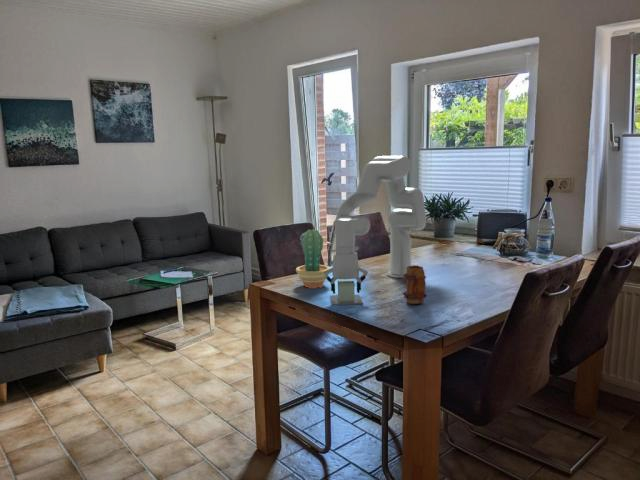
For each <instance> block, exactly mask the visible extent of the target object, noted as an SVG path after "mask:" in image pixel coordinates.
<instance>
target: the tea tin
mask: <svg viewBox="0 0 640 480" xmlns="http://www.w3.org/2000/svg"><path fill="white" fill-rule="evenodd" d="M336 282H337V295H338V299H339V302H342V301H355V295H356V294H355V292H356V291H355V285H356V284H355V280H354V279H337V280H336Z"/></svg>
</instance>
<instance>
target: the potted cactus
mask: <svg viewBox="0 0 640 480" xmlns="http://www.w3.org/2000/svg"><path fill="white" fill-rule="evenodd" d="M299 241H300V245H302V250H303V253H304V265H300V266H297V267H295V268H296V269H295V271H296V273H297V275H298V277H299V280H300V281H301V282H302V284H303V287H304V286H305V287H309V288H308V289H318V288H317V287H320V288H323V287H324V282H325V281H327V279H326V277H325V275H324V272H325V271H327V270H329V269H331V267H330V266H328V265H325V264H321V254H322V251H323V247H324V239H323V236H322V234H320V232H319V231H318V230H317V229H314V228H313V229H307V231H305V232H304V233H302V234H301V235H300V237H299ZM322 286H323V287H322ZM305 287H304V288H305Z"/></svg>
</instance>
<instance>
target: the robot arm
mask: <svg viewBox="0 0 640 480" xmlns="http://www.w3.org/2000/svg"><path fill="white" fill-rule="evenodd" d="M371 159H372V158H371ZM411 166H412V165H411V161H410V159H409V157H407V156H406V155H382V156H381V155H379V156H376V157H373V159H372V160H371V161H369V162H368V163H366V164H365V166H364V168H363V171H362V174H361V177H360V179H359V182H358V185H357V188H356V190H355V192H354V193H352V194H350V196H348V198H346V199H345V200H344V201H343V202H342V204H341V205H340V207H339V208H338V211H337V213H336V214H337V215H336V217H335V220H334V229H335V230H334V231H335V252H334V253H333V257H332V267H330V269H329V270H327V271H325V272H324V275H325V277H326V281H327V282H329V283H330V291H331V292H332V294H333V295H336V283H335V282H337V280H356V292H357V293H358V294H360V291H362V283H363V281H364V280H365V279H366V277H367V275H368V273H369V272H368V270H366V269H364V268H362V267H360V266H359V257H358V253H357V251H360V247H359V246H357V245H356V236H364V235H366V234H368V233H369V231H370V229H371V222H370V220H369V219H368V217H366V216H363V215H362V216H361V215H351V214H352V212H354V211H355V210H356V209H359V207H362V206H364V205H366V204H367V205H368V204H369V203H371V202H373V201H375V199H376V198H377V195H378V192H379V189H380V186H381V183H382V182H384V184H385V190H386V193H387V194H386V195H387V200H388V203H389V205H390V207H392V208H395V209H392V210H391V211H389V213H388V216H387V217H388V219H387V220H388V221H387V222H388V227H389V234H390V240H389V241H390V243H389V244H390V245H389V246H390V250H389V251H390V252H389V253H390V262H389V263H390V265H389V266H390V269H389V271H387V272H386V275H387V277H391V278H395V279H396V278H397V279H398V278H400V279H405V277H404V274H406V273H407V266H412V265H411V264H412V261H411V260H412V259H411V258H412V256H411V255H412V239H411V238H412V237H411V235H410V232H408V231H422V230H424V229H425V227H426V225H427V213H426V207H425V198H424V195H423V191H422V190H421V189H420V188H417V187H407V186H406V183H405V178H404V177H406V176H407V175H408V174H409V173H410V170H411ZM331 273H332V277H330V276H329V274H331ZM360 273H362V276H360Z"/></svg>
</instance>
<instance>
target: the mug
mask: <svg viewBox="0 0 640 480" xmlns="http://www.w3.org/2000/svg"><path fill="white" fill-rule="evenodd" d="M404 277H405V278H404V279H405V281H406V285H405V286H406V287H405V288H406V291H404V292H403V294H402V295H403V296H404V298H405V300H406V303H408V304H410V305H420V304H424V299H425V298H426V297H427V296H428V295H427V294H426V278H427V276H426V274H425V270H424V267H423V266H420V265H411V266H407V273H406V274H404Z"/></svg>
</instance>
